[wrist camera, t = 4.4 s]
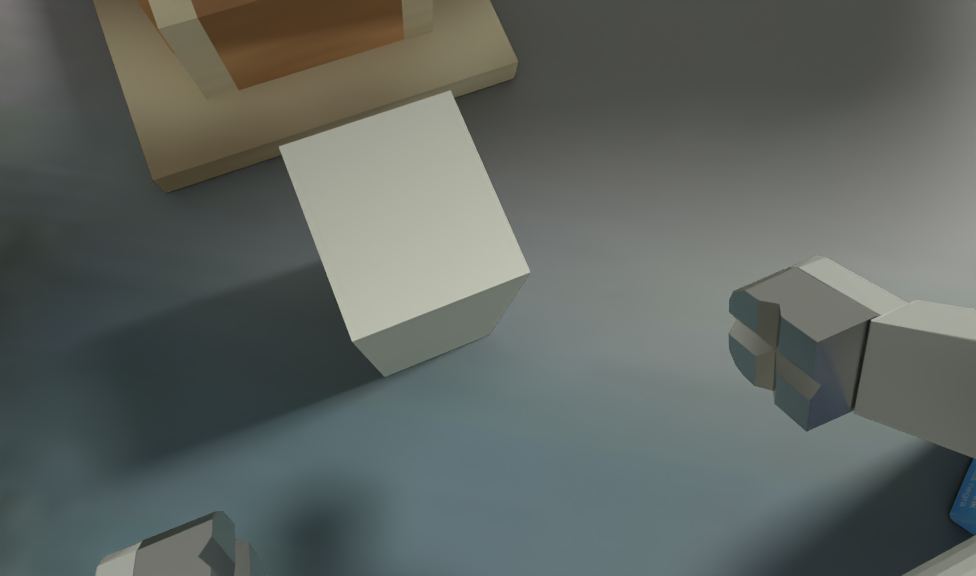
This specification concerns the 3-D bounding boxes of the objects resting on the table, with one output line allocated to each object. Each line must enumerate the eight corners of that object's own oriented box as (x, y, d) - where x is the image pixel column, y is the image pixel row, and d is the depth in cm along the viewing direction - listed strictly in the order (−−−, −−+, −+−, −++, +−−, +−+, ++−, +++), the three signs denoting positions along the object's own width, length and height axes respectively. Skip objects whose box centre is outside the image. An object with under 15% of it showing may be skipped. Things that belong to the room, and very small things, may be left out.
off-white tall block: (442, 221, 20) (450, 90, 12) (490, 334, 19) (530, 271, 12) (339, 258, 19) (278, 146, 12) (384, 377, 19) (351, 341, 11)
